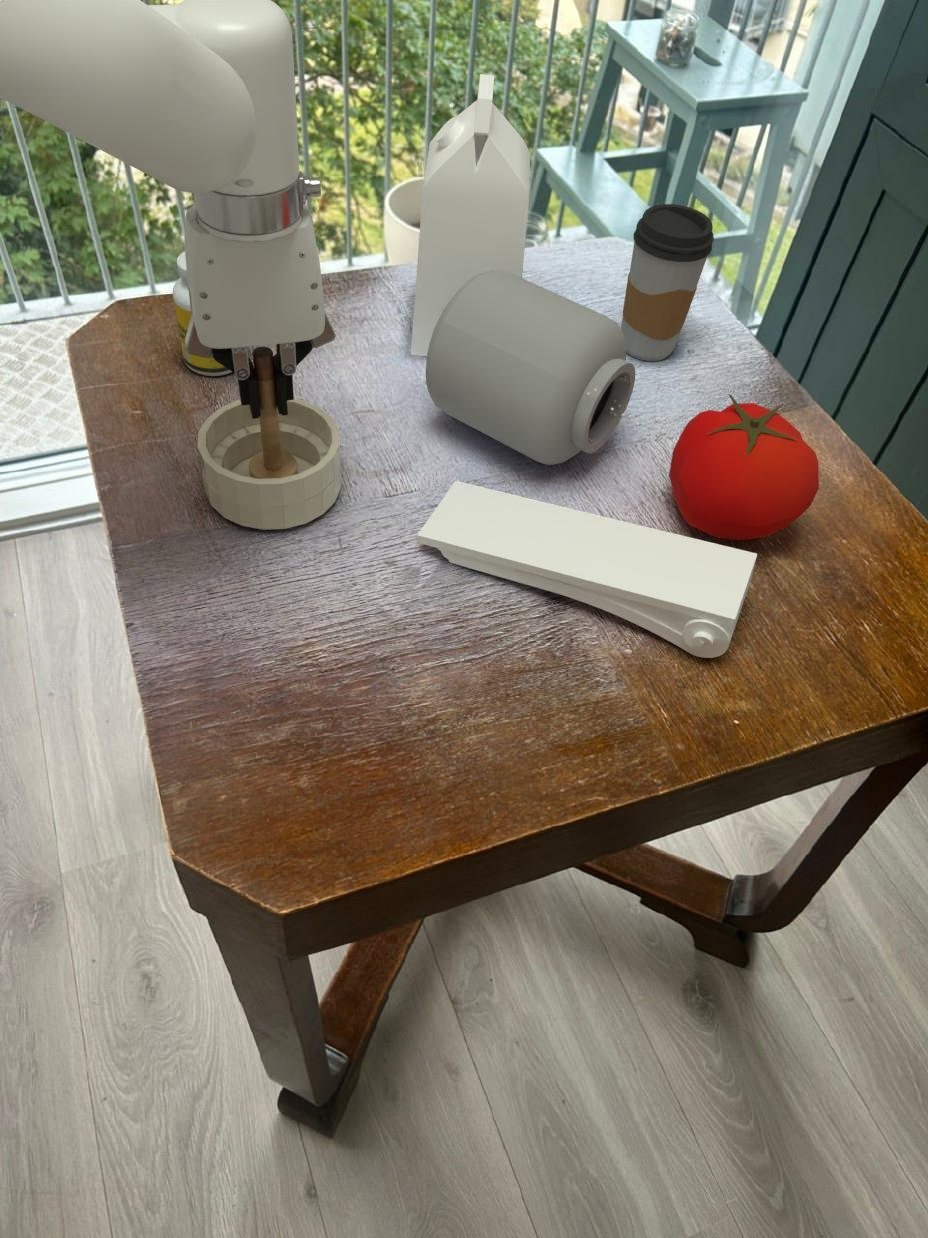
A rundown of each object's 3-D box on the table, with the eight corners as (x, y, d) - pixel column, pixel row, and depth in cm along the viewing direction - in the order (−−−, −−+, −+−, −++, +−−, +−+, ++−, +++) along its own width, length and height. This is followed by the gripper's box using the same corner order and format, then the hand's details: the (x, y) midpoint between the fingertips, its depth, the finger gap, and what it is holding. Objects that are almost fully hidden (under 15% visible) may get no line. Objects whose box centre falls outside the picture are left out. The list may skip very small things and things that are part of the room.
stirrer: (240, 485, 88) (224, 355, 77) (269, 460, 91) (256, 330, 80) (280, 503, 87) (268, 373, 76) (308, 477, 90) (300, 348, 79)
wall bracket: (424, 593, 90) (721, 678, 81) (409, 550, 83) (729, 637, 75) (464, 511, 94) (751, 583, 85) (453, 463, 88) (761, 536, 79)
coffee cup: (665, 323, 114) (697, 199, 102) (693, 364, 108) (731, 238, 97) (599, 329, 112) (625, 203, 100) (625, 370, 107) (656, 243, 95)
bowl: (178, 500, 88) (167, 449, 83) (259, 430, 95) (254, 379, 90) (290, 553, 84) (286, 502, 80) (365, 475, 92) (365, 425, 87)
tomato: (685, 457, 97) (717, 361, 89) (810, 511, 93) (856, 415, 85) (635, 525, 90) (664, 426, 81) (768, 586, 86) (814, 489, 78)
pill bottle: (190, 341, 104) (174, 240, 95) (250, 345, 104) (239, 244, 95) (178, 376, 100) (160, 274, 91) (241, 381, 100) (229, 279, 91)
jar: (545, 309, 105) (740, 390, 91) (484, 432, 107) (664, 527, 94) (448, 233, 89) (666, 317, 76) (379, 379, 92) (577, 484, 78)
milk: (514, 364, 106) (547, 118, 86) (410, 354, 105) (420, 105, 86) (515, 305, 114) (546, 68, 94) (419, 296, 113) (429, 56, 94)
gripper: (345, 168, 73) (348, 372, 87) (130, 179, 69) (169, 391, 83) (367, 215, 68) (366, 423, 82) (138, 230, 64) (178, 445, 78)
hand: (267, 406), depth 82 cm, fingers closed on stirrer
